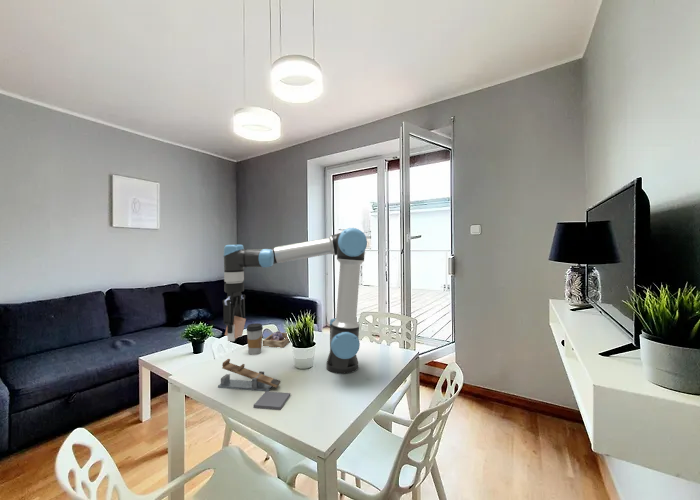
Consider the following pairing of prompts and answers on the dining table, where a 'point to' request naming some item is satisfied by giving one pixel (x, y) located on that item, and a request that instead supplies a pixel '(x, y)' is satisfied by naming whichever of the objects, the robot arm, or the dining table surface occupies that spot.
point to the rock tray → (276, 343)
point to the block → (238, 326)
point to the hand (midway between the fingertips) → (235, 338)
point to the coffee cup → (254, 338)
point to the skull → (277, 336)
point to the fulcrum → (244, 384)
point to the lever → (250, 373)
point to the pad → (272, 400)
